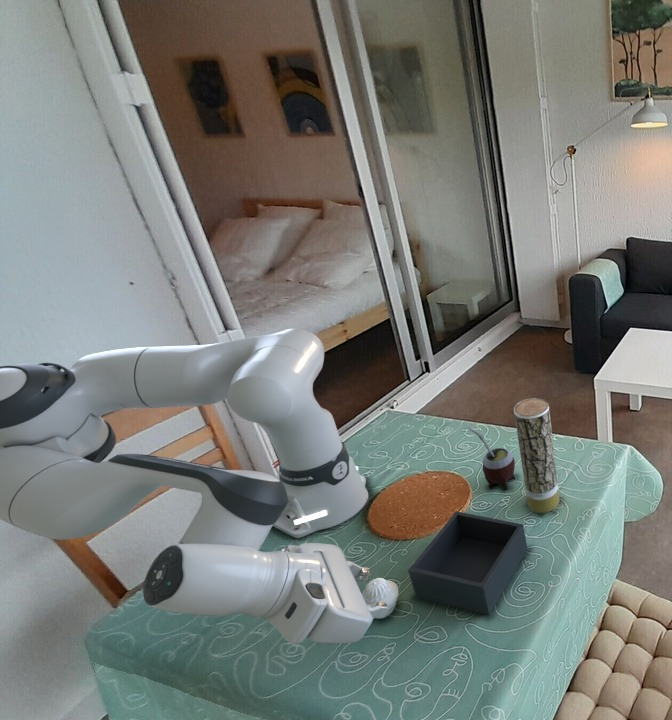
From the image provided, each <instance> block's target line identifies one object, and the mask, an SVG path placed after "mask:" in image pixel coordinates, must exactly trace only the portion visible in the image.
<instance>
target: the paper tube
mask: <svg viewBox="0 0 672 720" xmlns="http://www.w3.org/2000/svg"><path fill="white" fill-rule="evenodd" d="M550 412H551V411H550V405H549V403H548V400H547V401H546V400H545V399H542V398H539V397H532V398H531V397H530V398H527V399H523V400H521V401H519V402H518V403H516V404H515V405H514V407H513V414H514V421H515V428H516V433H517V441H518V447H519V454H520V462H521V467H522V474H523V481H524V488H525V494H526V500H527V506H528V508H529V510H531V511H532V512H533V513H535V514H546V513H550V512H552V511H553V510H555V509H556V508H557V507H558V505H559V503H560V494H559V493H560V492H559V484H558V476H557V466H556V465H557V464H556V458H555V456H556V455H555V448H554V439H553V431H552V421H551V413H550Z"/></svg>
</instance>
